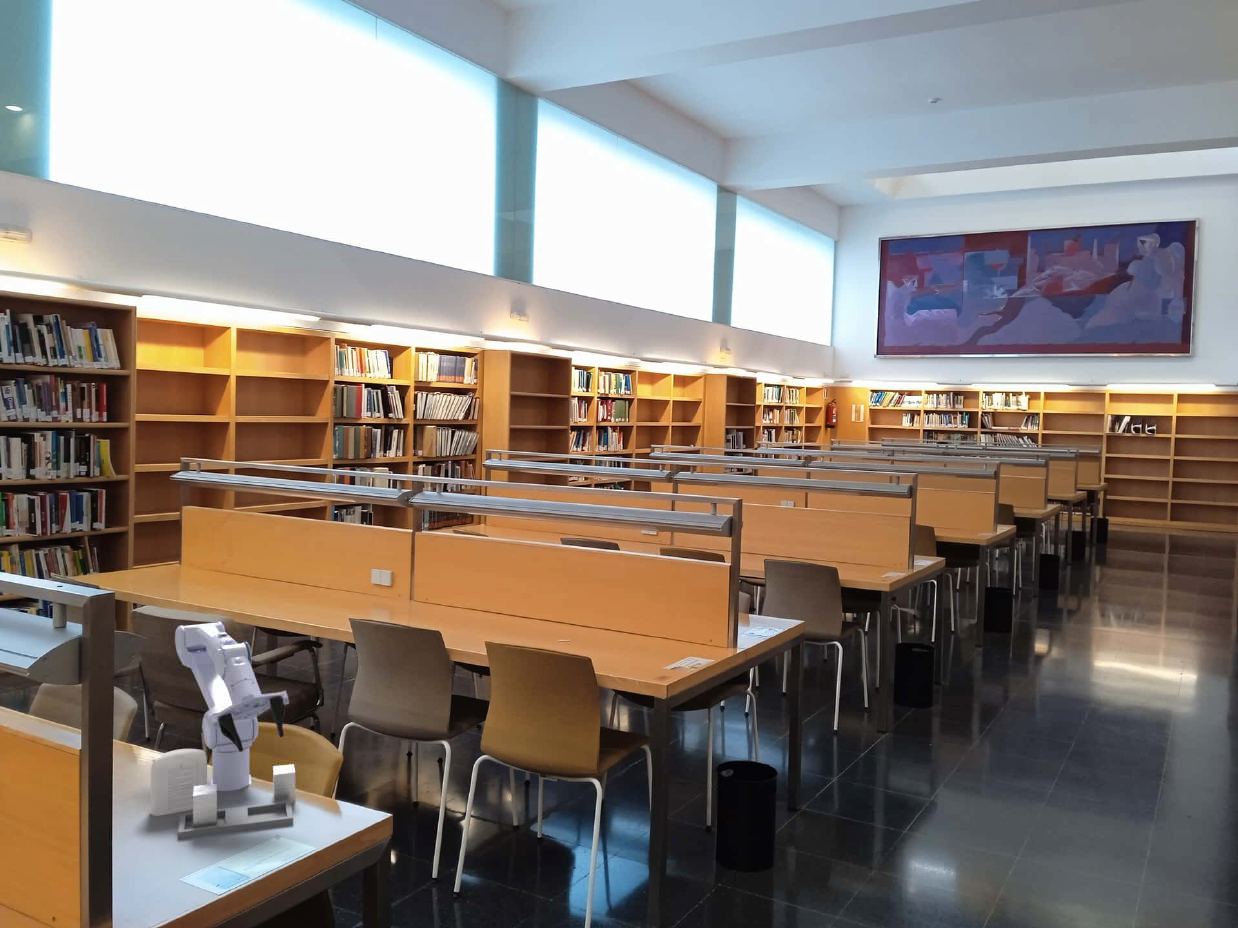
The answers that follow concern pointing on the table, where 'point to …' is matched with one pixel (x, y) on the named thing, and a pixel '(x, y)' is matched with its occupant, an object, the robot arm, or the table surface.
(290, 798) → the block
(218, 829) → the pallet
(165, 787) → the white tombstone slab
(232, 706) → the robot arm
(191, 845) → the table surface
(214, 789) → the block
